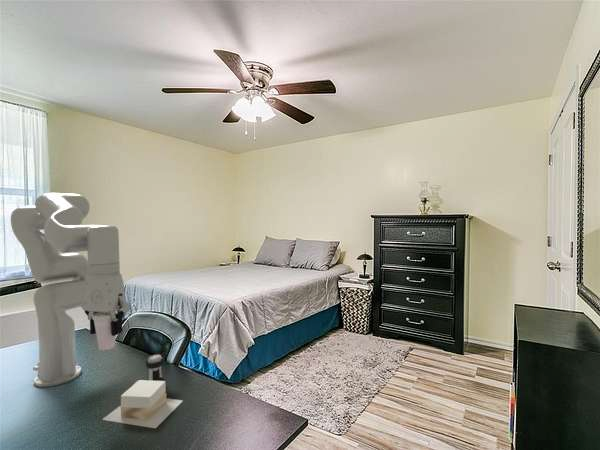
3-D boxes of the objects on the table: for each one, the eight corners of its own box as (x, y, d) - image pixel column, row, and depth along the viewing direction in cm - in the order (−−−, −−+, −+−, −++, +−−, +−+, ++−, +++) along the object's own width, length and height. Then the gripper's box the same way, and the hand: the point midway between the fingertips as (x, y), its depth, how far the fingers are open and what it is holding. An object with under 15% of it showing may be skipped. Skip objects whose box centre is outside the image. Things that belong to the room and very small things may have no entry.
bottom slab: (120, 416, 83) (120, 405, 83) (142, 399, 91) (141, 389, 91) (147, 420, 82) (146, 409, 81) (166, 402, 89) (166, 392, 89)
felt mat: (102, 421, 82) (101, 419, 82) (135, 395, 94) (135, 394, 94) (155, 430, 79) (155, 428, 79) (183, 402, 90) (183, 400, 90)
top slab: (121, 407, 83) (120, 396, 82) (138, 390, 90) (138, 380, 90) (150, 408, 82) (150, 397, 82) (165, 391, 90) (165, 381, 90)
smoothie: (91, 354, 84) (89, 302, 83) (94, 345, 89) (93, 296, 89) (119, 349, 87) (117, 298, 86) (120, 341, 92) (119, 294, 92)
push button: (148, 397, 93) (147, 364, 93) (138, 392, 96) (137, 359, 95) (168, 387, 98) (167, 355, 98) (158, 382, 101) (157, 351, 101)
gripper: (66, 271, 86) (69, 336, 86) (119, 272, 82) (122, 340, 82) (90, 267, 93) (92, 327, 94) (140, 267, 89) (142, 330, 90)
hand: (106, 332), depth 88 cm, fingers closed on smoothie, 6 cm apart
